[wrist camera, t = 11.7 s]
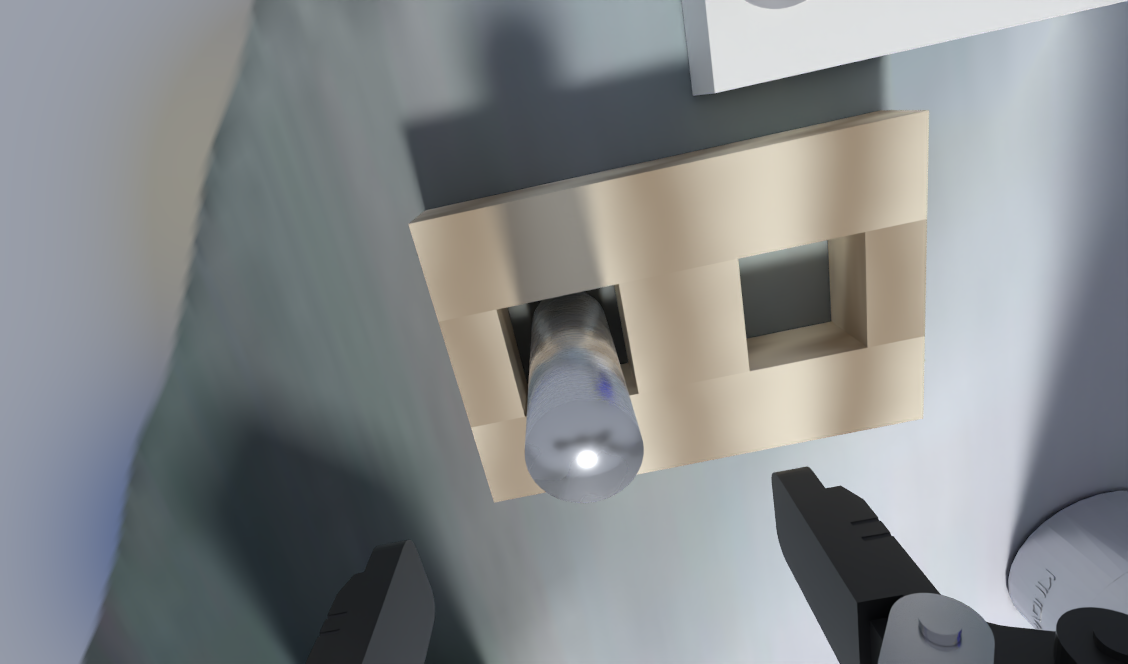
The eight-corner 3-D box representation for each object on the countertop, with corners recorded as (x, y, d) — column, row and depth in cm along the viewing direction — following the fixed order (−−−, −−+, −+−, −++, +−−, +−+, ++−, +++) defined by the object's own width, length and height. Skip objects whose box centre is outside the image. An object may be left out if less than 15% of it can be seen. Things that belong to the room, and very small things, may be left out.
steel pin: (598, 282, 24) (633, 389, 15) (612, 350, 25) (652, 490, 16) (524, 297, 24) (511, 413, 15) (541, 365, 25) (539, 512, 16)
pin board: (880, 110, 22) (929, 110, 19) (882, 386, 26) (923, 418, 23) (425, 210, 23) (408, 224, 20) (499, 462, 27) (494, 502, 24)
